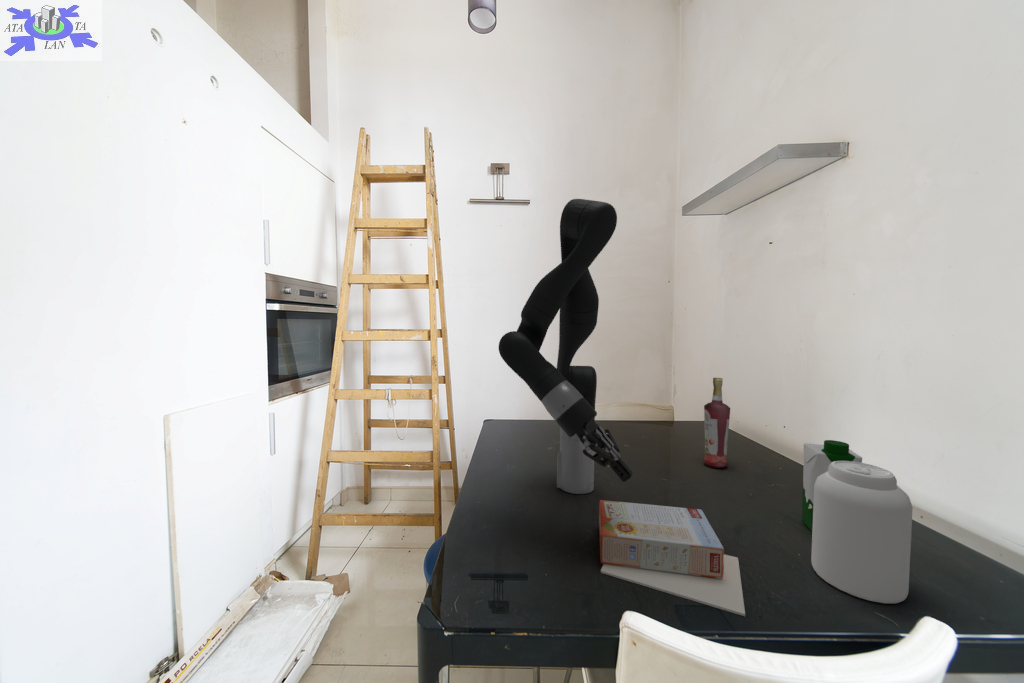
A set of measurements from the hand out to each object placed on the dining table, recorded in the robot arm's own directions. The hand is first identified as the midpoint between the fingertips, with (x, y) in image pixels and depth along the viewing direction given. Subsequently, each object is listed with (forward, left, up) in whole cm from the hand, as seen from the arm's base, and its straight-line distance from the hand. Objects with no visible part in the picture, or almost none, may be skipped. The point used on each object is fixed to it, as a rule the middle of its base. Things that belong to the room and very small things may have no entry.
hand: (628, 478), depth 73 cm
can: (+37, +11, -15) cm, 41 cm away
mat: (+8, 0, -15) cm, 17 cm away
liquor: (+16, +62, -15) cm, 66 cm away
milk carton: (+37, +29, -15) cm, 49 cm away
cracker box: (-6, +1, -12) cm, 13 cm away
